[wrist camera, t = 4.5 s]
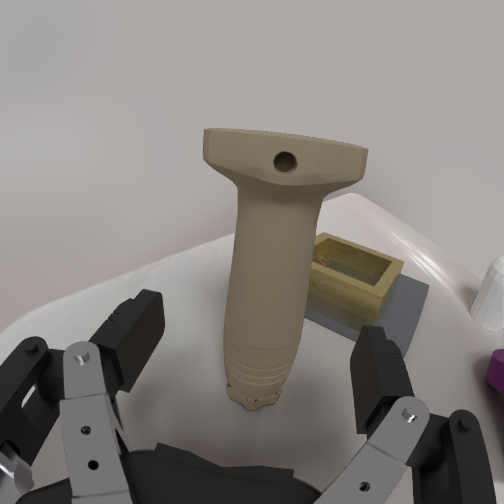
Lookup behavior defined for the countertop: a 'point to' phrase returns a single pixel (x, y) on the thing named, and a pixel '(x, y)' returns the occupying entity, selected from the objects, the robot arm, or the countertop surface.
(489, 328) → the capsule
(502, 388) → the mounting bracket
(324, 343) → the countertop surface
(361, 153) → the handle
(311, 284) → the plate
